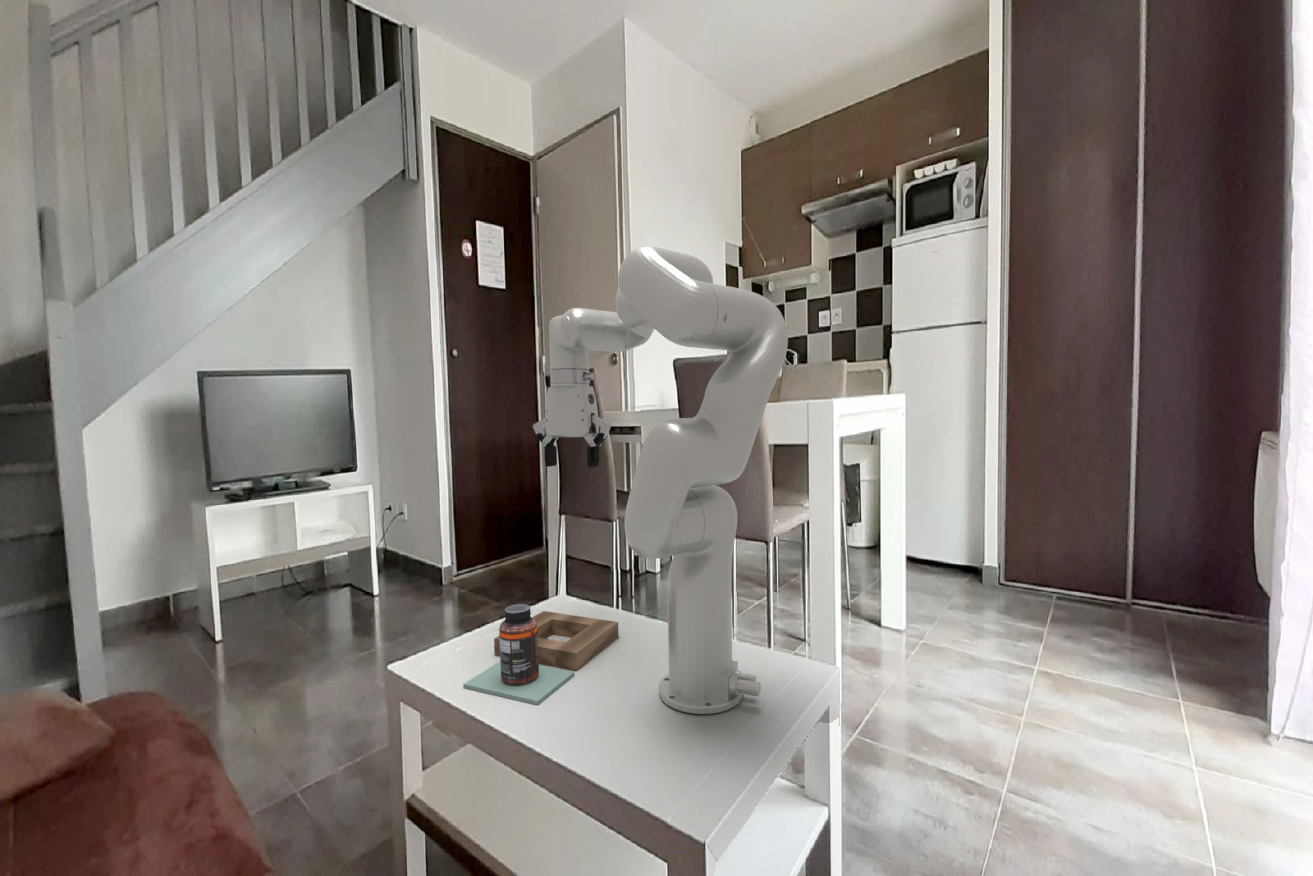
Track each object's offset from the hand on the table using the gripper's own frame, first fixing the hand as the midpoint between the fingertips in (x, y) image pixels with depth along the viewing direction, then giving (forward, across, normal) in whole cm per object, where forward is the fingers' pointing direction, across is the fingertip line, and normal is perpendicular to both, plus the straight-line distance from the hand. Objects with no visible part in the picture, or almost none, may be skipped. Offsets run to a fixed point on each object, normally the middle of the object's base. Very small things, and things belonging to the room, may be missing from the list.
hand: (571, 466), depth 110 cm
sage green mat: (+32, -4, +23) cm, 40 cm away
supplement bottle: (+32, -4, +23) cm, 40 cm away
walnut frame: (+32, -2, +9) cm, 34 cm away
